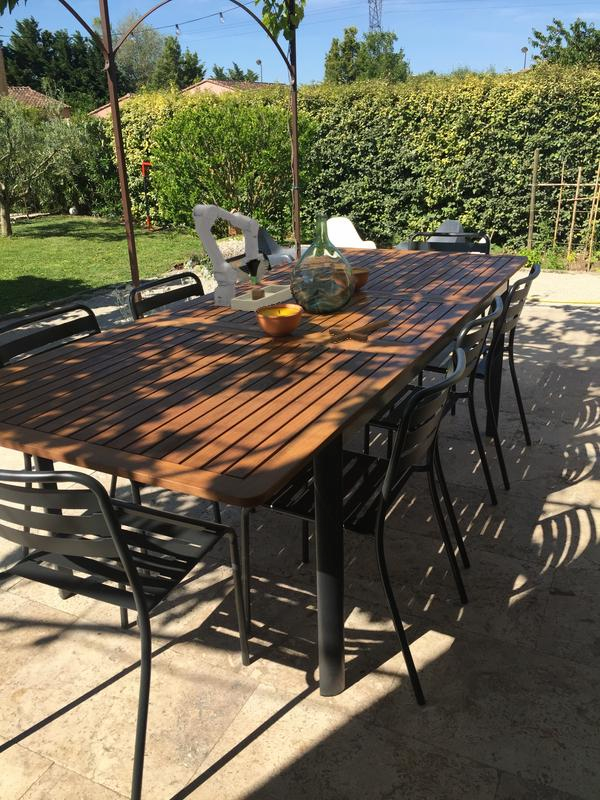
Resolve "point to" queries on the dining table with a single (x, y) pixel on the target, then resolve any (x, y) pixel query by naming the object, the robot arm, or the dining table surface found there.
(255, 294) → the walnut block
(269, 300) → the trap box
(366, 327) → the cross
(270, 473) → the dining table surface
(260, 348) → the dining table surface
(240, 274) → the decorative bird
